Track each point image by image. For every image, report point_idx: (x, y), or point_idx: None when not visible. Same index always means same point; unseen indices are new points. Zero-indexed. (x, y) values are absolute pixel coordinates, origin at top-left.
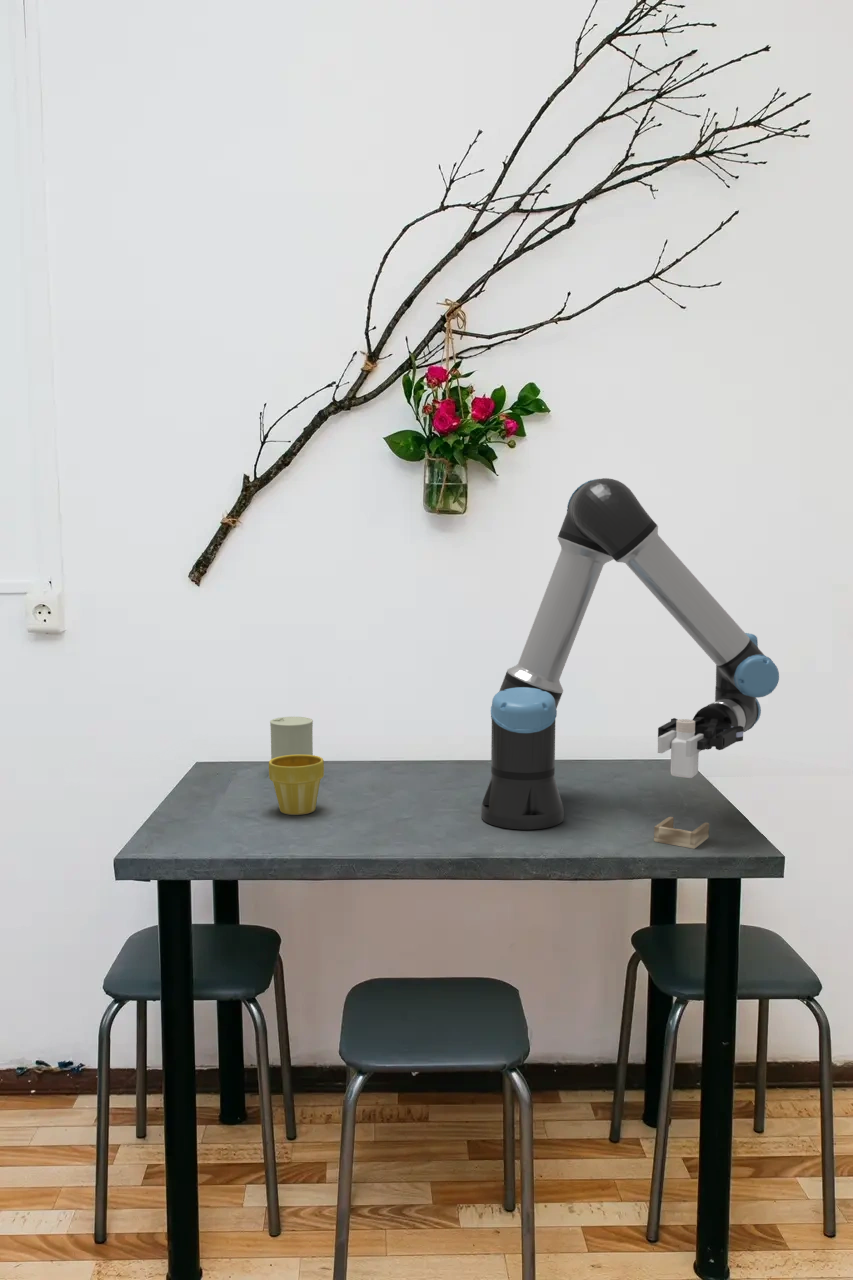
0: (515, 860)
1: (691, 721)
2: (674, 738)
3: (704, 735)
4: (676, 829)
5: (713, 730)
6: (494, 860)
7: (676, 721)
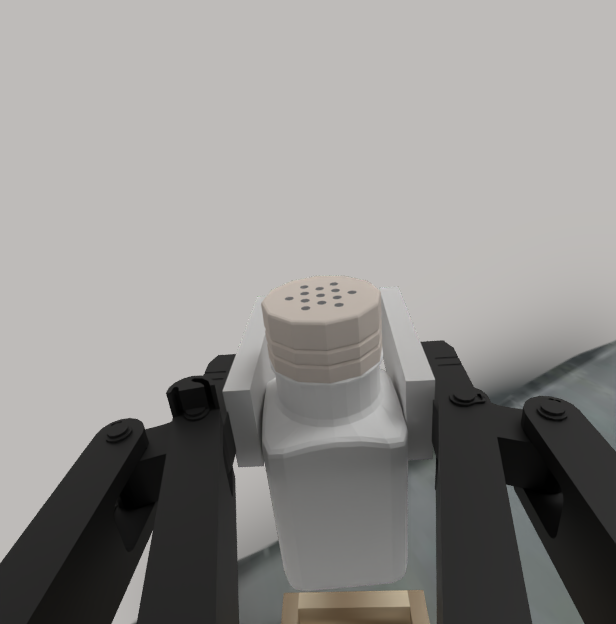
0: (539, 377)
1: (285, 300)
2: (389, 384)
3: (220, 413)
4: (351, 604)
5: (156, 539)
6: (560, 365)
7: (368, 282)
